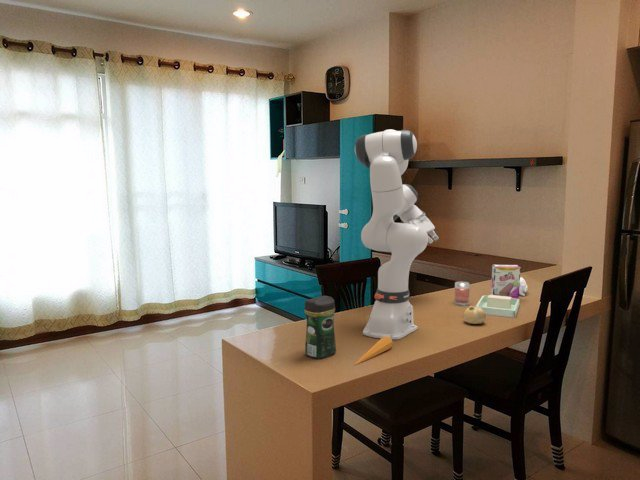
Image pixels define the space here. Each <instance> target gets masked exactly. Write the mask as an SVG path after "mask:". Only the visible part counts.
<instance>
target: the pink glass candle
mask: <svg viewBox="0 0 640 480" xmlns="http://www.w3.org/2000/svg"><path fill="white" fill-rule="evenodd" d="M470 285H471V283H470V282H469V281H462V280H461V281H455V282H454V299H453V300H454V305H455V306H460V307H462V306H463V307H466V306H470V305H469V304H470Z"/></svg>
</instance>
